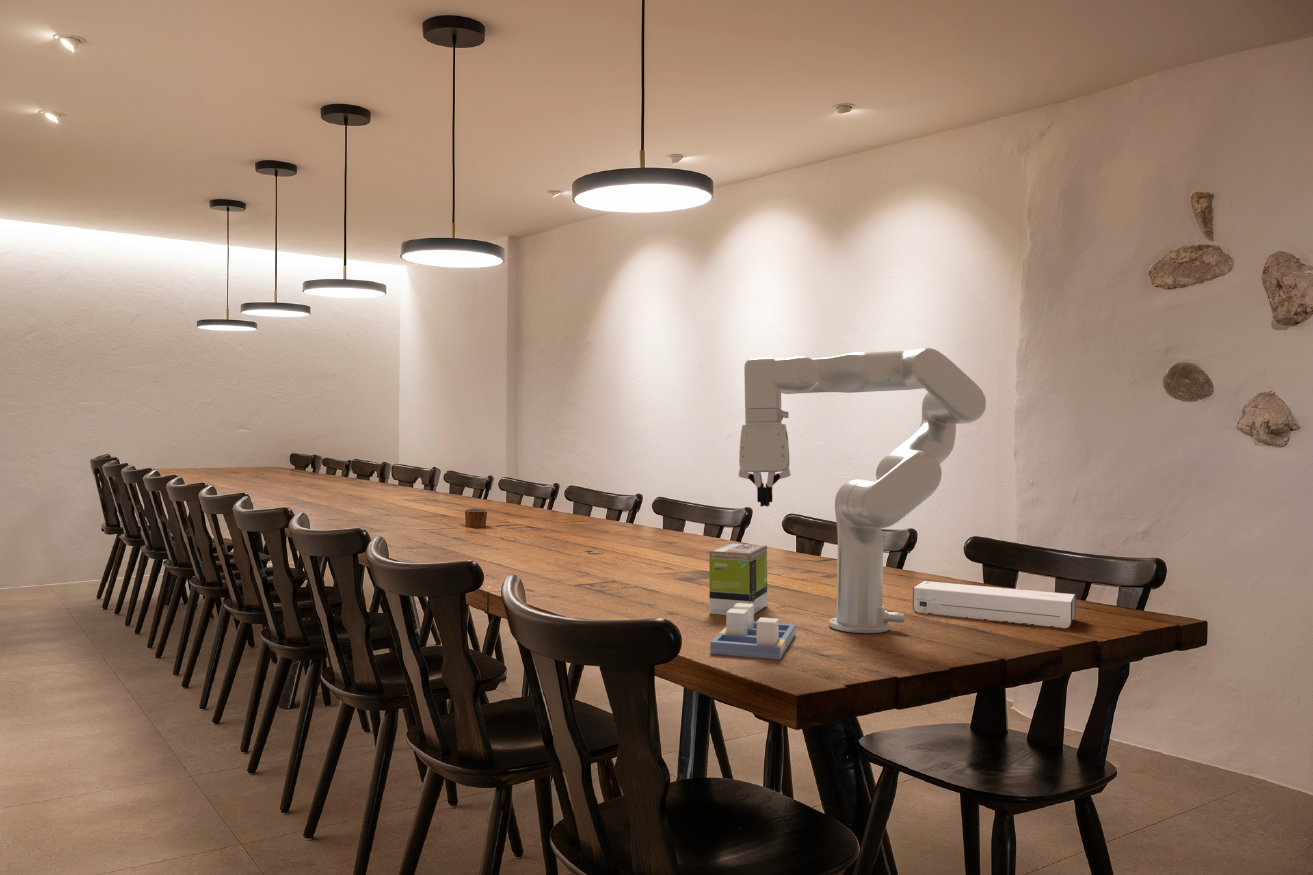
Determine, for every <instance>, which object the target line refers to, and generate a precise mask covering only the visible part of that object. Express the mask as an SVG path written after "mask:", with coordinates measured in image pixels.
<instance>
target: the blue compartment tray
mask: <svg viewBox="0 0 1313 875" xmlns="http://www.w3.org/2000/svg"><path fill="white" fill-rule="evenodd" d="M795 636H796V623H795V624H792V623H781V622H779V640H778V644H777V645H765V644H756V641H757V621H755V620H754V628H748V635H739V634H726V626H725V627H724V628H723V629H722V630H721V631H720V632H719V633H718V634H717V635H716V636H715V637H714V638H712V640H710V643H709V645H710V649H709V653H710V655H712V654H713V655H722V656H723V655H724V656H732V657H744V658H745V657H746V658H757V659H758V658H759V659H769V660H779V661H780V660H781V659H782V657H783V655H784V654H785V653H786V651H787V649H788V648H789V646H790V644H791V643H792V641H793V639H794V638H795Z"/></svg>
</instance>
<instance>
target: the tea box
mask: <svg viewBox="0 0 1313 875" xmlns="http://www.w3.org/2000/svg"><path fill="white" fill-rule="evenodd" d="M708 559H709V560H708V561H709V562H708V563H709V564H708V567H709V572H708V573H709V574H708V580H709V584H708V586H709V587H708V588H709V594H708V595H709V596H708V597H709V600H708V601H709V605H708V607H709V608H708V609H709V613H712V614H711V615H717V614H719V616H726V612H727V611H728V610H730V609H733V606H734V605H735V604H736V603H747V604H754V615H755V614H756V613H758V612H759V611H761V610H762V609H764V608H765V607H767V606H768V600H769V598H768V597H769V596H768V545H765V544H752V543H751V544H750V543H727V544H724V545H722V546H720V547H717V548H715V549H712V550H709V558H708Z"/></svg>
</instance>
